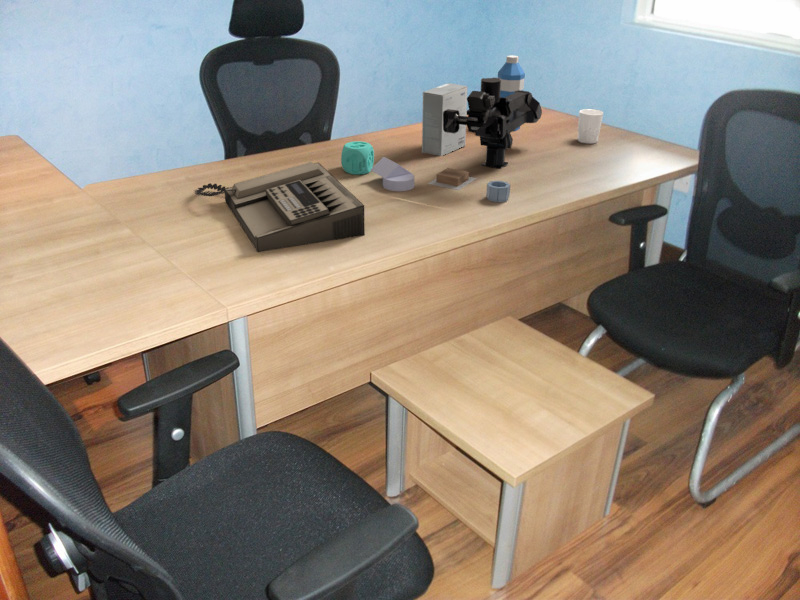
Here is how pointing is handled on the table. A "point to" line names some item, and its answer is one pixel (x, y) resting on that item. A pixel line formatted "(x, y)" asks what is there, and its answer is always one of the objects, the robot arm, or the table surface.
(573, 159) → the table surface
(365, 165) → the decorative dice
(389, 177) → the wedge on round base
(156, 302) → the table surface
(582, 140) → the white cup
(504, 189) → the grey ring collar
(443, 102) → the hard drive box
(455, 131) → the robot arm
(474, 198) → the table surface
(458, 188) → the mat
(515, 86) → the water bottle
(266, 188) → the fax machine
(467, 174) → the block
